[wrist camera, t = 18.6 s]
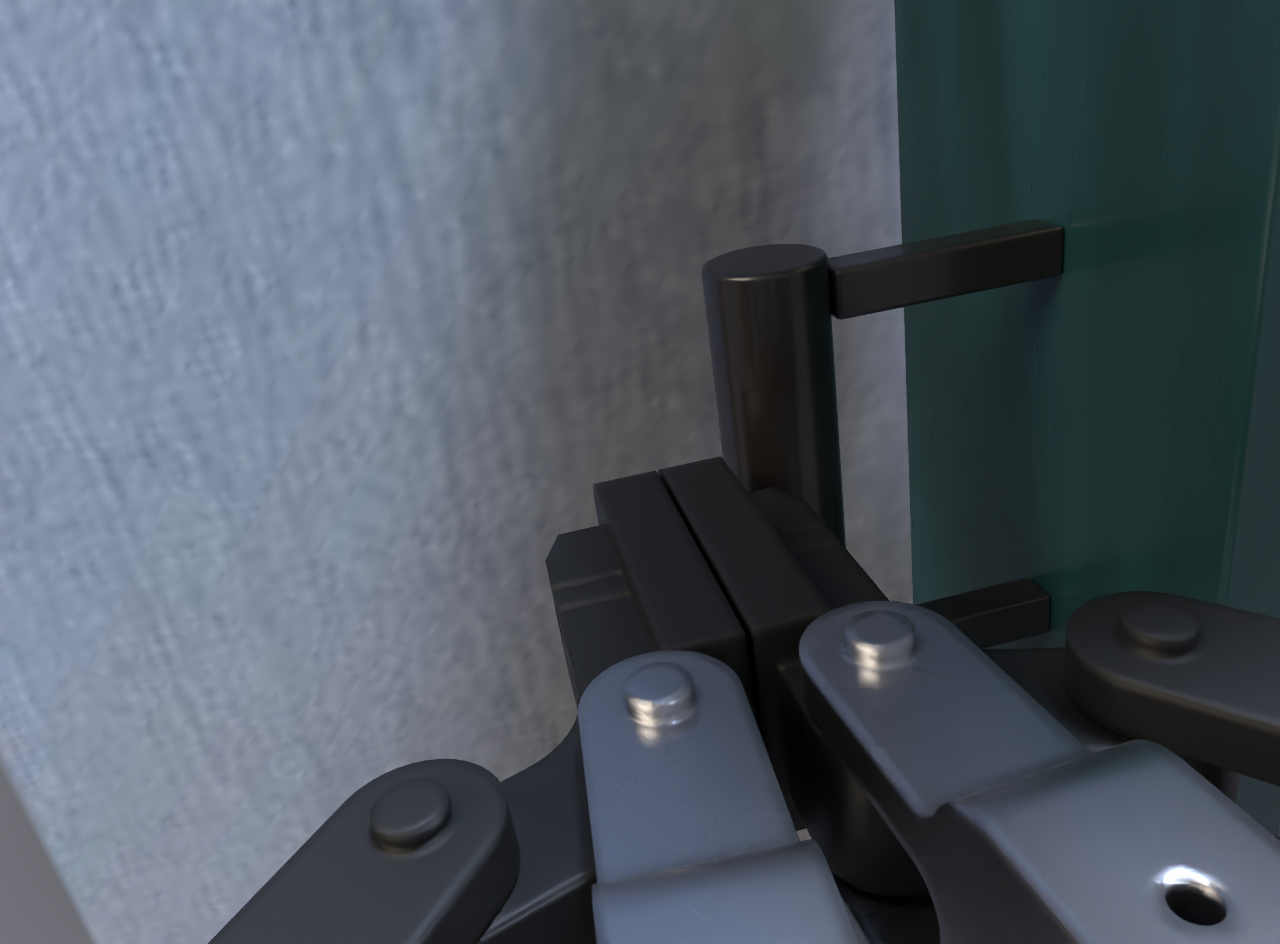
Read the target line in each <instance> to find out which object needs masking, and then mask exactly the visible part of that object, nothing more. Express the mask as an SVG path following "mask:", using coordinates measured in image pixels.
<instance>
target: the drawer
mask: <svg viewBox="0 0 1280 944" xmlns="http://www.w3.org/2000/svg"><path fill="white" fill-rule="evenodd" d="M894 1H895V33H896V65H897V97H898V130H899V162H900V194H901V226H902V244H901V245H896V246H890V247H885V248H880V249H875V250H870V251H865V252H859V253H854V254H849V255H844V256H839V257H833V258H828V257H827V255H826V253H825V252H824V251H823V250H822V249H820V248H817V247H813V246H808V245H801V244H773V245H763V246H755V247H749V248H744V249H739V250H735V251H731V252H728V253H725V254H722V255H720V256H717V257H715V258H713V259H711V260H710V261H708V262H707V263H705V265H704V266H703V269H702V280H703V289H704V297H705V306H706V314H707V323H708V332H709V340H710V349H711V357H712V366H713V375H714V383H715V392H716V400H717V409H718V418H719V426H720V435H721V443H722V452H723V460H724V461H725V462H726V464H727V465H728V467H729V468H730V469H731V471H732V472H733V473H734V475H735V476H736V478H737V479H738V480H739V482H740V483H741V485H742V486H743V487H744V489H745V490H746V491H747V493H748V492H752V491H757V490H761V489H766V488H770V487H775V488H777V489H780V490H782V491H784V492H786V493H788V494H791V495H793V496H795V497H797V498H799V499H802V500H804V501H806V502H807V503H808V504H809V505H810V506H811V508H812V509H813V510H814V511H815V512H816V514H817V515H818V516H819V517H820V518H821V520H822V521H823V522H824V523H825V527H826V529H827V528H829V529H830V530H831V532H832V533H833V534H834V535H835V536H836V538H837V539H838V540H839V541H840V544H841V547H845V548H846V542H845V526H844V510H843V494H842V478H841V462H840V446H839V430H838V414H837V398H836V382H835V366H834V350H833V334H832V318H831V315H832V316H833V317H835V318H836V319H840V320H842V319H846V318H851V317H856V316H861V315H866V314H871V313H876V312H881V311H886V310H891V309H896V308H901V307H904V323H905V355H906V387H907V419H908V451H909V484H910V516H911V548H912V580H913V605H916V606H920V607H923V608H926V609H929V610H931V611H934V612H936V613H937V614H939V615H941V616H943V617H945V618H946V619H947V620H949V621H950V622H951V623H952V624H954V625H955V626H956V627H957V628H958V629H959V630H960V631H961V632H962V633H963V634H964V635H965V636H967V637H968V638H969V639H970V640H971V641H972V642H973V643H974V644H975V645H976V646H977V647H978V648H985V649H1026V648H1060V647H1065V636H1066V625H1067V621H1068V619H1069V617H1070V615H1071V614H1072V613H1073V612H1074V611H1075V610H1076V609H1077V608H1078V607H1079V606H1081V605H1082V604H1084V603H1085V602H1087V601H1090V600H1092V599H1094V598H1097V597H1100V596H1104V595H1107V594H1112V593H1118V592H1128V591H1153V592H1163V593H1170V594H1175V595H1180V596H1185V597H1189V598H1194V599H1198V600H1202V601H1207V602H1211V603H1215V604H1219V605H1224V606H1228V607H1232V608H1237V609H1241V610H1245V611H1249V612H1254V613H1258V614H1262V615H1266V616H1271V617H1275V618H1279V619H1280V0H894ZM1236 804H1237V805H1238V806H1239V807H1240V808H1241V809H1243V810H1244V811H1245V812H1246V813H1247V814H1249V815H1250V816H1251V817H1252V818H1253V819H1255V820H1256V821H1257V822H1258V823H1259V824H1261V825H1262V826H1263V827H1264V828H1265V829H1267V830H1268V831H1269V832H1270V833H1271V834H1273V835H1275V836H1277V837H1280V787H1279V786H1276V785H1273V784H1270V783H1267V782H1264V781H1261V780H1257V779H1254V778H1251V777H1248V776H1245V775H1242V774H1240V779H1239V786H1238V793H1237V800H1236Z"/></svg>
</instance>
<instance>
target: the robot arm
mask: <svg viewBox="0 0 1280 944" xmlns="http://www.w3.org/2000/svg"><path fill="white" fill-rule="evenodd" d="M593 489H594V498H595V505H596V511H597V516H598V522H599V526H595V527H591V528H586V529H582V530H577V531H573V532H568V533H564V534H559V535H558V536H557V538H556V541H555V543H554V545H553V547H552V549H551V551H550V553H549V555H548V557H547V559H546V565H547V570H548V575H549V580H550V585H551V590H552V594H553V599H554V604H555V609H556V614H557V618H558V623H559V628H560V633H561V638H562V642H563V647H564V652H565V657H566V662H567V666H568V671H569V675H570V680H571V684H572V688H573V692H574V696H575V700H576V704H577V709H578V715H577V718H576V721H575V723H574V725H573V727H572V729H571V730H570V732H569V734H568V735H567V736H566V737H565V739H564V740H563V741H562V742H561V743H560V744H559V745H558V746H557V747H556V748H555V749H554V750H553V751H552V752H551V753H549V754H548V755H547V756H545V757H544V758H543V759H541V760H540V761H539V762H537V763H535V764H534V765H532V766H530V767H528V768H527V769H525V770H523V771H521V772H519V773H517V774H515V775H513V776H511V777H509V778H507V779H505V780H504V781H502V782H499V780H498V779H497V778H496V777H495V776H494V775H493V774H492V773H491V772H490V771H488V770H486V769H485V768H483V767H481V766H479V765H477V764H474V763H471V762H468V761H462V760H456V759H436V760H426V761H421V762H417V763H412V764H409V765H406V766H403V767H400V768H397V769H394V770H392V771H390V772H388V773H385V774H383V775H381V776H379V777H378V778H376V779H374V780H372V781H371V782H369V783H367V784H366V785H365V786H363V787H362V788H360V789H359V790H358V791H356V792H355V793H354V794H353V795H352V796H351V797H350V798H348V799H347V800H346V801H345V802H344V803H343V804H342V805H341V806H340V807H339V808H338V809H337V810H336V811H335V812H334V813H333V814H332V816H331V817H330V818H329V819H328V820H327V821H326V822H325V823H324V824H323V825H322V826H321V827H320V828H319V829H318V830H317V831H316V832H315V833H314V834H313V835H312V836H311V837H310V838H309V839H308V840H307V841H306V842H305V844H304V845H303V846H302V847H301V848H300V849H299V850H298V851H297V852H296V853H295V854H294V855H293V856H292V857H291V858H290V859H289V860H288V861H287V862H286V863H285V864H284V865H283V866H282V867H281V868H280V869H279V870H278V871H277V873H276V874H275V875H274V876H273V877H272V878H271V879H270V880H269V881H268V882H267V883H266V884H265V885H264V886H263V887H262V888H261V889H260V890H259V891H258V892H257V893H256V894H255V895H254V896H253V897H252V898H251V899H250V901H249V902H248V903H247V904H246V905H245V906H244V907H243V908H242V909H241V910H240V911H239V912H238V913H237V914H236V915H235V916H234V917H233V918H232V919H231V920H230V921H229V922H228V923H227V924H226V925H225V926H224V927H223V929H222V930H221V931H220V932H219V933H218V934H217V935H216V936H215V937H214V938H213V939H212V940H211V941H210V942H209V943H208V944H1280V837H1277V836H1275V835H1273V834H1271V833H1270V832H1269V831H1268V830H1267V829H1265V828H1264V827H1263V826H1262V825H1261V824H1259V823H1258V822H1257V821H1256V820H1255V819H1253V818H1252V817H1251V816H1250V815H1249V814H1247V813H1246V812H1245V811H1244V810H1243V809H1241V808H1240V807H1239V806H1238V805H1237V804H1236V800H1237V793H1238V786H1239V779H1240V774H1242V775H1245V776H1248V777H1251V778H1254V779H1257V780H1261V781H1264V782H1267V783H1270V784H1273V785H1276V786H1279V787H1280V619H1279V618H1275V617H1271V616H1266V615H1262V614H1258V613H1254V612H1249V611H1245V610H1241V609H1237V608H1232V607H1228V606H1224V605H1219V604H1215V603H1211V602H1207V601H1202V600H1198V599H1194V598H1189V597H1185V596H1180V595H1175V594H1170V593H1163V592H1153V591H1128V592H1118V593H1112V594H1107V595H1104V596H1100V597H1097V598H1094V599H1092V600H1090V601H1087V602H1085V603H1084V604H1082V605H1081V606H1079V607H1078V608H1077V609H1076V610H1075V611H1074V612H1073V613H1072V614H1071V615H1070V617H1069V619H1068V621H1067V625H1066V636H1065V647H1060V648H1026V649H985V648H978V647H977V646H976V645H975V644H974V643H973V642H972V641H971V640H970V639H969V638H968V637H967V636H965V635H964V634H963V633H962V632H961V631H960V630H959V629H958V628H957V627H956V626H955V625H954V624H952V623H951V622H950V621H949V620H947V619H946V618H945V617H943V616H941V615H939V614H937V613H936V612H934V611H931V610H929V609H926V608H923V607H920V606H916V605H913V604H908V603H902V602H894V601H889V600H888V599H887V597H886V596H885V595H884V594H883V593H882V591H881V590H880V589H879V588H878V587H877V585H876V584H875V583H874V582H873V581H872V579H871V578H870V577H869V576H868V575H867V573H866V572H865V571H864V570H863V569H862V567H861V566H860V565H859V564H858V563H857V562H856V560H855V559H854V558H853V557H852V556H851V554H850V553H849V552H848V551H847V550H846V548H845V547H841V544H840V541H839V540H838V539H837V538H836V536H835V535H834V534H833V533H832V532H831V530H830V529H829V528H827V529H826V527H825V523H824V522H823V521H822V520H821V518H820V517H819V516H818V515H817V514H816V512H815V511H814V510H813V509H812V508H811V506H810V505H809V504H808V503H807V502H806V501H804V500H802V499H799V498H797V497H795V496H793V495H791V494H788V493H786V492H784V491H782V490H780V489H777V488H775V487H770V488H766V489H761V490H757V491H752V492H748V493H747V491H746V490H745V489H744V487H743V486H742V485H741V483H740V482H739V480H738V479H737V478H736V476H735V475H734V473H733V472H732V471H731V469H730V468H729V467H728V465H727V464H726V462H725V461H724V460H723V459H722V458H721V457H716V458H711V459H706V460H702V461H697V462H693V463H688V464H683V465H679V466H674V467H669V468H665V469H660V470H659V471H658V474H657V472H656V471H652V472H647V473H643V474H638V475H633V476H629V477H624V478H619V479H615V480H610V481H606V482H601V483H596V484H594V485H593ZM805 828H807V830H808V832H809V834H810V836H811V838H812V839H810V840H806V841H801V842H800V840H799V837H798V835H797V832H796V831H798V830H801V829H805Z"/></svg>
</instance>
